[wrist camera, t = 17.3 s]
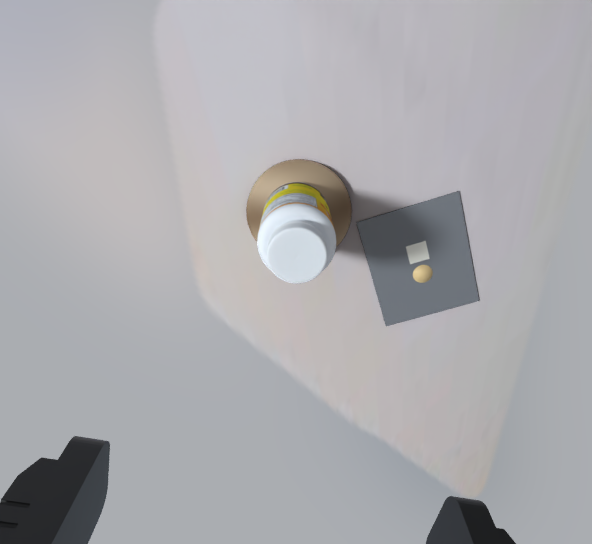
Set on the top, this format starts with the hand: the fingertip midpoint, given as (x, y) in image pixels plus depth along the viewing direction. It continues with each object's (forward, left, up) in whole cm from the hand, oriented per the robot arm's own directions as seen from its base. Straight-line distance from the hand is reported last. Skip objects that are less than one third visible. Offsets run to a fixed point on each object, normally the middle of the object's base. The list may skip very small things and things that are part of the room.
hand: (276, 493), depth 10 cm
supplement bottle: (+2, 0, -30) cm, 30 cm away
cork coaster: (+2, 0, -30) cm, 30 cm away
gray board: (+10, +9, -30) cm, 33 cm away
